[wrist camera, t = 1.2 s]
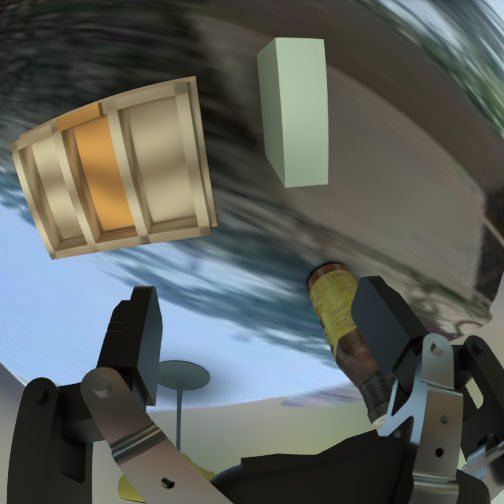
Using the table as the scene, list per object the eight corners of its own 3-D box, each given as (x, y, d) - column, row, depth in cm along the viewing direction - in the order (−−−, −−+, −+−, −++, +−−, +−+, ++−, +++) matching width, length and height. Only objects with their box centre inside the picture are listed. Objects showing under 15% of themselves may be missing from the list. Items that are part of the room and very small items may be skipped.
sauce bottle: (296, 286, 35) (342, 432, 19) (329, 252, 33) (402, 398, 16) (328, 303, 38) (377, 430, 21) (359, 273, 35) (428, 400, 19)
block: (256, 54, 20) (275, 37, 12) (289, 53, 20) (323, 39, 12) (265, 155, 25) (285, 187, 18) (295, 152, 25) (327, 184, 18)
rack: (24, 133, 19) (1, 144, 16) (196, 76, 20) (191, 73, 17) (62, 247, 28) (47, 268, 24) (217, 221, 29) (217, 243, 25)
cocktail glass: (169, 401, 51) (168, 506, 31) (112, 359, 41) (92, 491, 21) (245, 385, 49) (260, 506, 28) (197, 336, 39) (200, 506, 18)
